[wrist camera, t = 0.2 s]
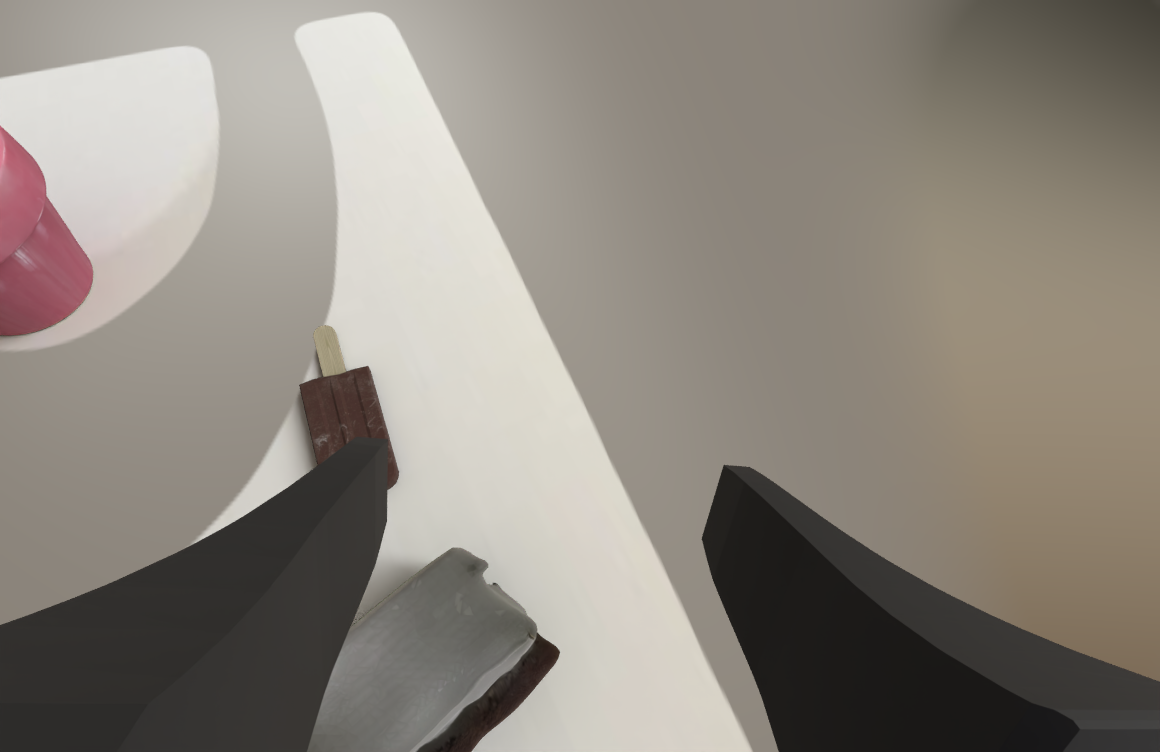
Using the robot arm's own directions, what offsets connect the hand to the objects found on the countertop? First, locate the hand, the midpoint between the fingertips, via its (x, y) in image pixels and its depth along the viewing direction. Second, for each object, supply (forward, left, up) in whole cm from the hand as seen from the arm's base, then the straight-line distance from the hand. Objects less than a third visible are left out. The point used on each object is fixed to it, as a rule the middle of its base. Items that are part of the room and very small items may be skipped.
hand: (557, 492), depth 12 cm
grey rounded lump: (-7, +6, -32) cm, 33 cm away
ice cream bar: (+12, +14, -32) cm, 37 cm away
